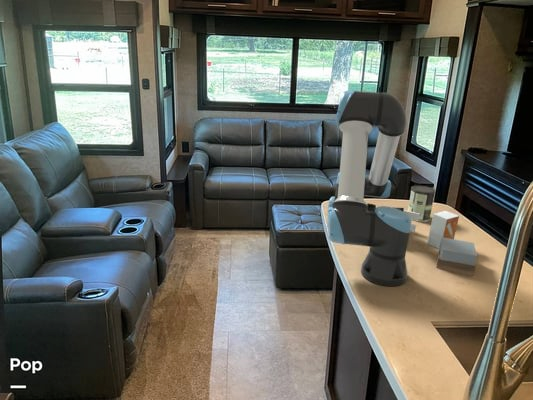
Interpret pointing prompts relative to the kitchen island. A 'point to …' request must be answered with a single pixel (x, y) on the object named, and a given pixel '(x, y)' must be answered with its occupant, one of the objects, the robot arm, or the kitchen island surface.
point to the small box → (442, 227)
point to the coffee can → (421, 202)
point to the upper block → (458, 251)
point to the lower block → (455, 266)
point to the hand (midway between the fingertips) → (417, 222)
